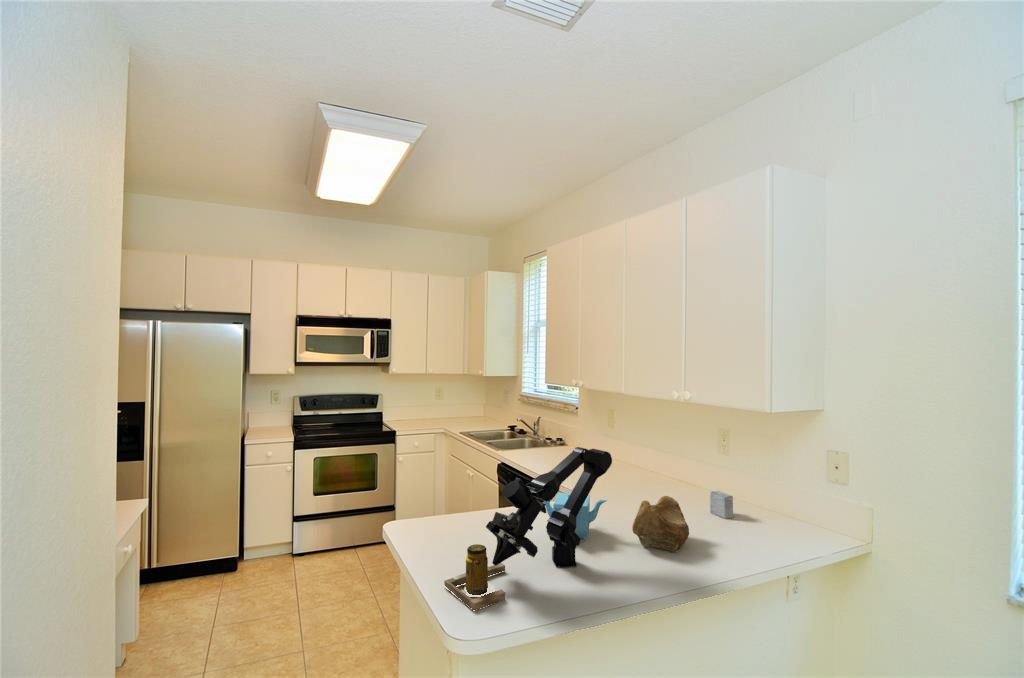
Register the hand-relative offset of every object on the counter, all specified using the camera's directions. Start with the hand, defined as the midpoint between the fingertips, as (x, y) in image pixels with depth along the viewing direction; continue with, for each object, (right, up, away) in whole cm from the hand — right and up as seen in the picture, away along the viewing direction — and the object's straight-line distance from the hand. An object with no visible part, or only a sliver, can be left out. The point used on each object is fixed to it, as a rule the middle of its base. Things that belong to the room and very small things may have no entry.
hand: (493, 564), depth 142 cm
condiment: (-4, -6, -2) cm, 8 cm away
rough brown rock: (+57, -7, +30) cm, 65 cm away
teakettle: (+27, -7, +41) cm, 49 cm away
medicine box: (+89, -7, +60) cm, 108 cm away
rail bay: (-1, -6, -1) cm, 6 cm away
